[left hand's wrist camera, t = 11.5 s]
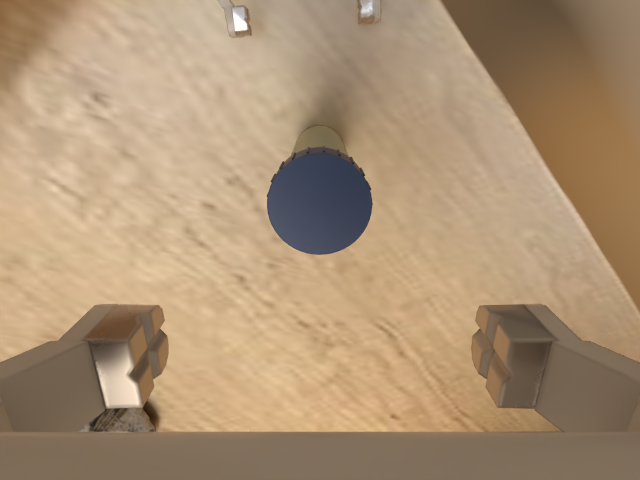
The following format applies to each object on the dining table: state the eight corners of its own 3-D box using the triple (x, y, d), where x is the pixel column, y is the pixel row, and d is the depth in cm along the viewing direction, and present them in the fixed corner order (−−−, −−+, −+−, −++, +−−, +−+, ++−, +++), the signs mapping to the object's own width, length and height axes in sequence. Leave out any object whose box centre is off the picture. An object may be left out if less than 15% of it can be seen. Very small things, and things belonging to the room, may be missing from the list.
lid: (251, 176, 22) (244, 186, 20) (339, 126, 21) (341, 130, 19) (302, 255, 24) (300, 272, 21) (385, 212, 23) (391, 225, 20)
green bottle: (286, 141, 37) (257, 187, 20) (328, 115, 36) (337, 142, 19) (310, 182, 39) (303, 259, 22) (352, 159, 38) (379, 219, 21)
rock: (114, 375, 47) (78, 424, 40) (174, 429, 50) (150, 483, 43) (34, 429, 50) (-11, 482, 44) (94, 476, 53) (61, 533, 47)
